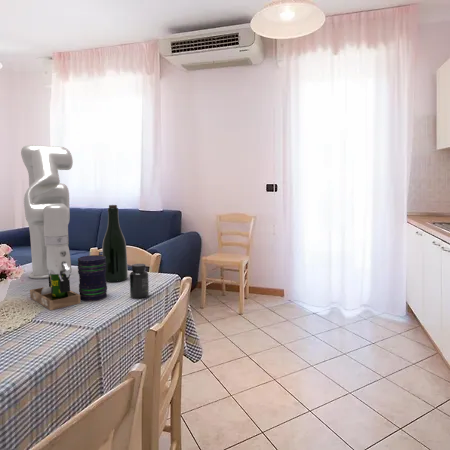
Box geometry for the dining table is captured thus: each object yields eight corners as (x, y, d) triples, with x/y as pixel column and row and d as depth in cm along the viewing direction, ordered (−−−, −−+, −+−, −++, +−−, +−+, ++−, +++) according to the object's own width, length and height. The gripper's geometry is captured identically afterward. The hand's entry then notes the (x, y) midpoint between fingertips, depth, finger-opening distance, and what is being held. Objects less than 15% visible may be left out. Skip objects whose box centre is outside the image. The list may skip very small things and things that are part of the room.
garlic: (49, 294, 137) (49, 281, 137) (61, 296, 136) (60, 282, 135) (37, 299, 131) (36, 285, 131) (49, 301, 130) (48, 286, 129)
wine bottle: (115, 275, 166) (112, 204, 162) (132, 278, 161) (130, 204, 157) (97, 280, 157) (94, 205, 153) (115, 283, 152) (112, 205, 148)
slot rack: (29, 297, 133) (29, 290, 133) (58, 291, 141) (57, 284, 140) (50, 310, 120) (49, 301, 120) (80, 303, 127) (80, 294, 127)
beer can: (60, 299, 131) (58, 267, 129) (71, 301, 129) (70, 268, 127) (48, 304, 126) (46, 270, 124) (59, 306, 124) (58, 272, 122)
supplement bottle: (147, 292, 140) (146, 262, 138) (149, 297, 133) (149, 266, 132) (129, 294, 137) (128, 263, 136) (130, 299, 131) (129, 267, 130)
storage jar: (95, 302, 128) (93, 261, 126) (73, 299, 131) (71, 259, 130) (112, 294, 137) (111, 256, 135) (92, 292, 141) (90, 254, 139)
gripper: (78, 242, 121) (80, 291, 123) (57, 237, 133) (60, 282, 135) (55, 245, 116) (58, 296, 118) (36, 239, 128) (38, 286, 130)
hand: (59, 289), depth 127 cm, fingers open, 9 cm apart
